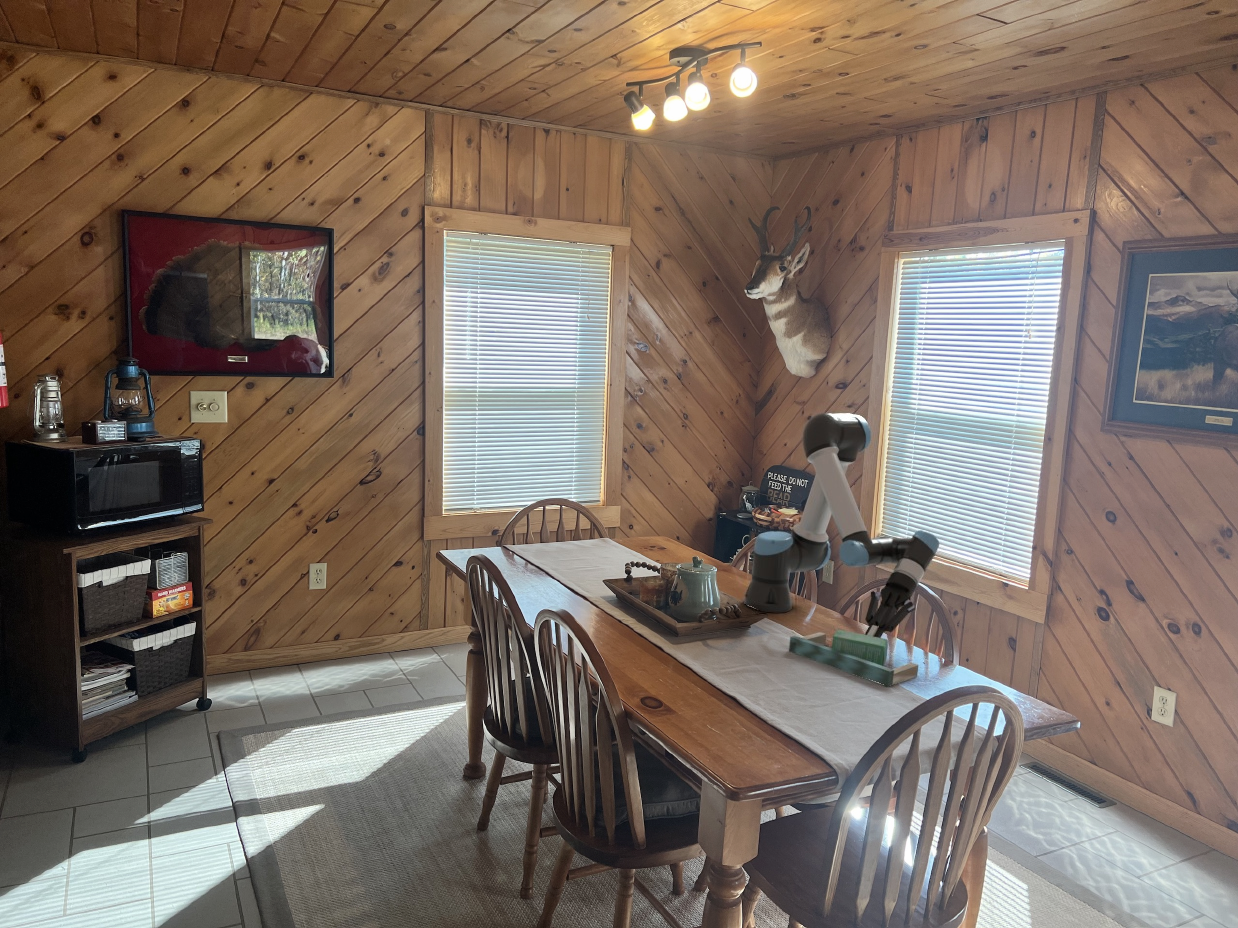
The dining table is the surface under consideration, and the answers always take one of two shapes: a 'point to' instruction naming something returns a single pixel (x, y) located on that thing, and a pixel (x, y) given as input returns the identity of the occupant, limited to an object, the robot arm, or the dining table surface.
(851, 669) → the bay
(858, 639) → the box
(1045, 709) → the dining table surface
